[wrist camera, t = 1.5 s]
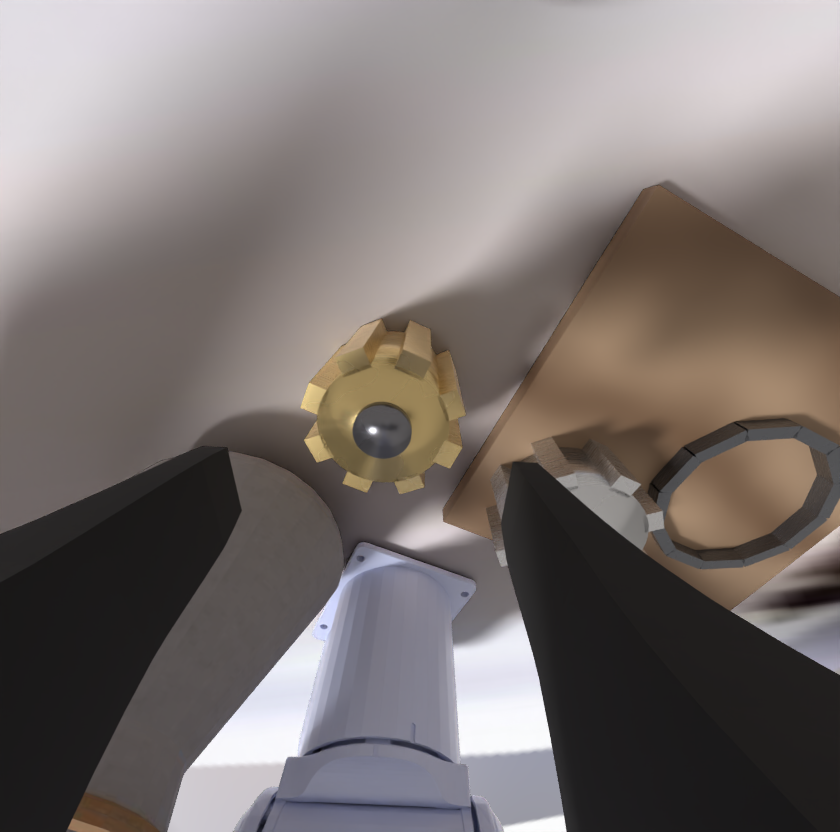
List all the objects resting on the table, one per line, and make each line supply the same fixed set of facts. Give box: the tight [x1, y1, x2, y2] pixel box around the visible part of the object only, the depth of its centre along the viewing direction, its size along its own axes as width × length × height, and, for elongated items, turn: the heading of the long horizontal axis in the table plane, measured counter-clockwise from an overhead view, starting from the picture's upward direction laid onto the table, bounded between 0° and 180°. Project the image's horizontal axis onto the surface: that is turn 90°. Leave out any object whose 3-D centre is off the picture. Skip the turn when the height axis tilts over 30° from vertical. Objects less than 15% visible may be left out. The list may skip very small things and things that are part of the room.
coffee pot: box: [66, 452, 344, 832], centre depth 16 cm, size 21×12×15 cm, turn 156°
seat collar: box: [647, 418, 840, 569], centre depth 18 cm, size 9×9×1 cm
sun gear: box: [486, 437, 664, 567], centre depth 17 cm, size 7×7×4 cm
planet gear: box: [300, 319, 466, 494], centre depth 14 cm, size 6×6×5 cm
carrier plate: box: [443, 185, 840, 611], centre depth 18 cm, size 17×19×1 cm
